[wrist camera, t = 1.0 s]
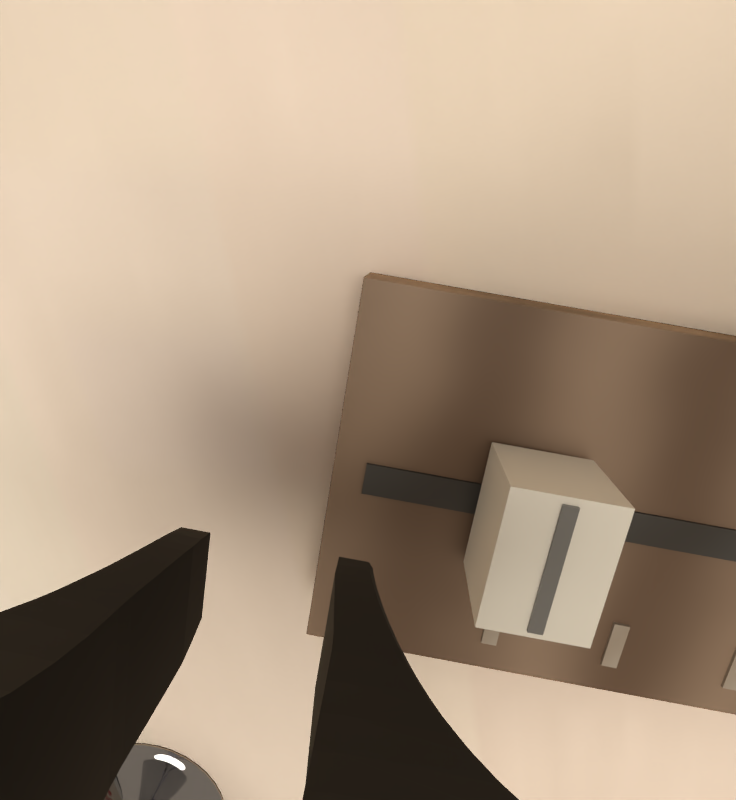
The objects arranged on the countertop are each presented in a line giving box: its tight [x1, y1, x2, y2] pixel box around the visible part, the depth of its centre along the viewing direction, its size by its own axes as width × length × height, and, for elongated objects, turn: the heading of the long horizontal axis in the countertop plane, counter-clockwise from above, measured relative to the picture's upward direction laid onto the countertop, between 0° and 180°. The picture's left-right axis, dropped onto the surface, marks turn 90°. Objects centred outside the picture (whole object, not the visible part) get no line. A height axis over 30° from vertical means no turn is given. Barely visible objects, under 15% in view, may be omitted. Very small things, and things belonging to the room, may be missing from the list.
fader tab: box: [463, 442, 635, 649], centre depth 16 cm, size 3×4×3 cm
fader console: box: [307, 272, 736, 714], centre depth 19 cm, size 22×12×3 cm, turn 80°
